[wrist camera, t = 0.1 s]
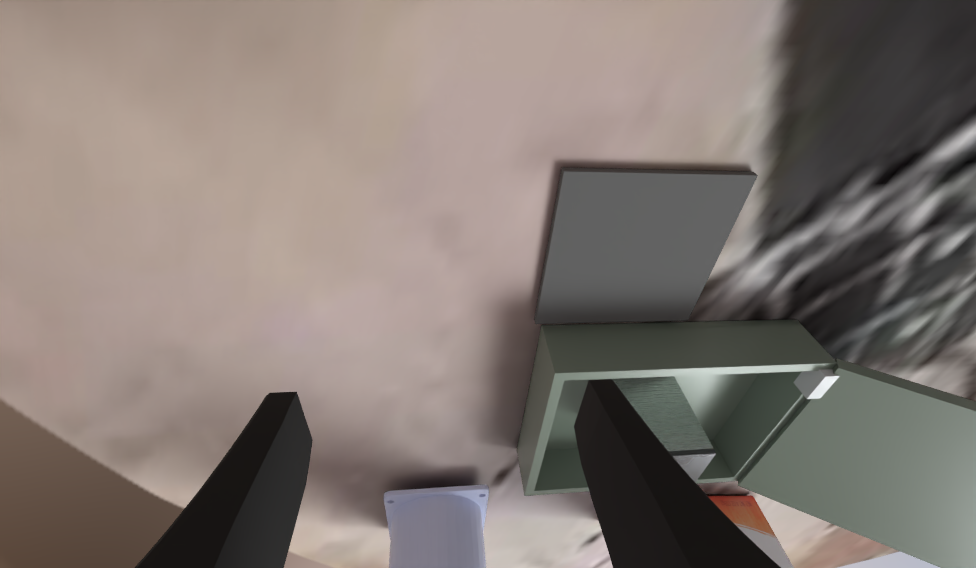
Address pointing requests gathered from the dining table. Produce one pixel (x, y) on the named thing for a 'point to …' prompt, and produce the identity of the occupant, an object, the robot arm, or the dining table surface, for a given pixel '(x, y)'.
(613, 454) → the robot arm
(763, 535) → the cracker box
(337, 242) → the dining table surface
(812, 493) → the case
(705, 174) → the pad
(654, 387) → the block
